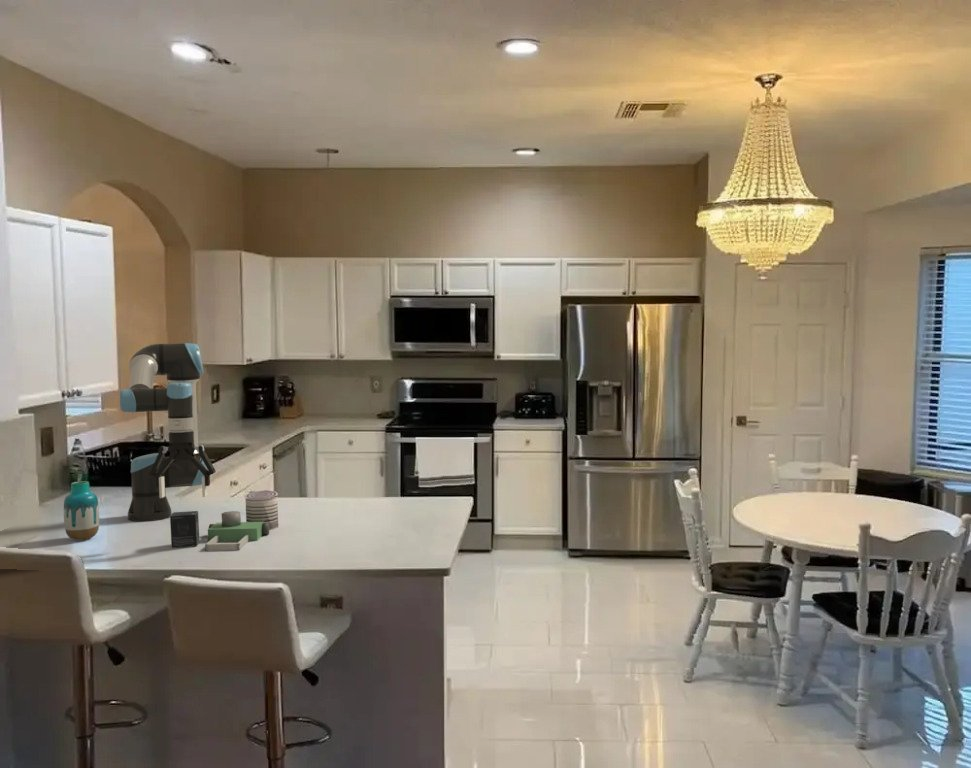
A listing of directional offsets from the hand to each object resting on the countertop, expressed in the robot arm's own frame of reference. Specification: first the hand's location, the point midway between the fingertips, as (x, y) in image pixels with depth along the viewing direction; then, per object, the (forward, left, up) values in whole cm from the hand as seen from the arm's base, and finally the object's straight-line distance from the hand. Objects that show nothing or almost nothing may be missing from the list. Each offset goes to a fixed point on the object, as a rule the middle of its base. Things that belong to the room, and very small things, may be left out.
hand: (183, 496), depth 269 cm
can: (+19, +23, -16) cm, 34 cm away
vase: (-38, +11, -16) cm, 43 cm away
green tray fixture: (+14, +3, -16) cm, 21 cm away
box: (0, 0, -16) cm, 16 cm away
